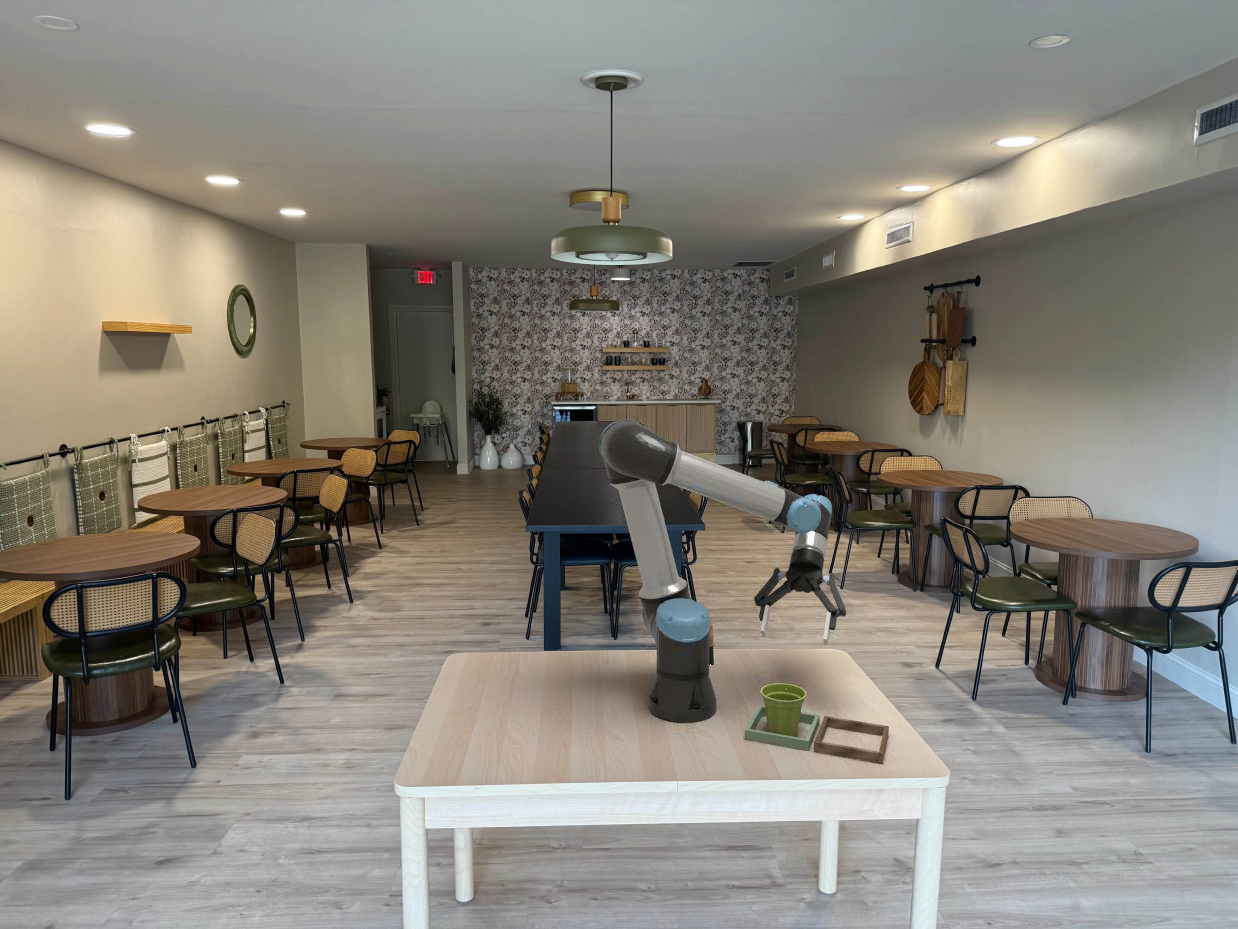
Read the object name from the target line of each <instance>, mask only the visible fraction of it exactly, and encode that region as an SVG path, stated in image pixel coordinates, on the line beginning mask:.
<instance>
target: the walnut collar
mask: <svg viewBox="0 0 1238 929" xmlns="http://www.w3.org/2000/svg"><path fill="white" fill-rule="evenodd" d="M819 726H820V727H818V728H819V729H818V730H817V732H816V736H815V738H814V740H813V741H814V742H813V752H814V753H820V754H822V755H823V754H824V755H829V754H830V756H835V757H840V758H846V757H848V758H847V759H851V758H853V760H857V759H860V760H859V761H862V760H864V762H868V761H869V763H875V764H879V765H883V764H884V759H885V753H886V750H887V744H888V739H889V732H890V730H889V728H890V727H889V725H883V724H878V723H877V724H876V723H872V722H865V721H860V720H859V721H858V720H853V719H848V718H847V719H846V718H841V717H834V716H829V715H824V716H823V718H822V720H821V723H820V725H819ZM828 728H830V729H831V728H833V729H837V730H838V729H839V730H844V731H850V732H856V733H863V734H868V735H874V736H880V737H881V741H880V746H879V750H878V751H877V750H872V749H866V748H860V747H854V746H848V745H843V744H837V743H832V742H826V741H823V740H824V737H825V735H826V732H827V729H828Z"/></svg>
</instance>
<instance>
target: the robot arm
mask: <svg viewBox="0 0 1238 929" xmlns="http://www.w3.org/2000/svg"><path fill="white" fill-rule="evenodd" d="M598 452H599V454H600V457H601V459H602V460H603V462H604V466H605V469H606V473H607V477H608V481H609V485H610V486H612V487H614V488H615V489H617V490H618V493H619V498H620V501H621V505H622V508H623V513H624V515H625V519H626V520H625V521H626V524H627V528H628V532H629V536H630V539H631V540H630V541H631V543H632V547H633V550H634V551H633V552H634V555H635V558H636V561H637V568H638V571H639V574H640V577H641V581H642V582H641V583H642V587H641V588H640V590H639V592H638V596H639V599H640V603H641V608H642V609H641V611H642V620H643V623H644V625H645V627H646V628H647V630H648V631H649V632H650V635H651V636H652V638H653V640H654V642H655V645H656V675H655V678H654V680H653V684H652V687H651V690H650V693H649V695H648V696H649V697H648V710H649V709H650V710H649V712H652V713H651V714H652V715H654V716H655V715H656V718H659V717H660V719H662V718H663V719H662V720H665V719H666V720H665V721H669V720H670V721H669V722H677V723H695V722H699V721H704V720H706V719H709V718H711V717H712V716H714V715H715V714H716V712H717V711H718V710H717V707H718V706H717V704H718V703H717V701H718V700H717V696H716V692H715V689H714V686H713V683H712V680H711V678H710V666H709V631H710V619H711V618H710V613H709V612H710V611H709V610H708V608H707V607H706V606H705V605H704V604H703V603H702V602H699V601H695V600H694V599H692V598H691V593H690V589H689V586H688V583H687V581H686V580H685V579H683V578H682V577H680V576H679V573H678V569H677V565H676V562H675V557H674V554H673V548H672V544H671V542H670V539H669V538H670V537H669V534H668V530H667V527H666V523H665V522H666V521H665V517H664V514H663V511H662V506H661V502H660V497H659V494H658V490H657V486H656V485H659V486H665V485H666V484H670V485H673V486H675V487H678V488H680V489H684V490H686V491H690V492H692V493H695V494H697V495H700V496H701V497H702V496H703V497H705V498H707V499H708V498H709V499H711V500H713V501H716V502H720V503H722V504H725V505H727V506H730V507H733V508H736V509H739V510H740V511H743V512H746V513H749V514H751V515H753V516H757V517H759V518H763V519H764V520H765V519H766V520H768V521H771V522H773V523H776V524H778V525H780V526H783V527H786V528H788V529H791V531H793V532H794V533H795V534H794V539H793V545H792V549H791V555H790V561H789V566H788V569H787V571H786V570H785V571H784V570H780V568H779V567H775V568H774V569H773V573H772V576H771V577H770V578H769V579H768V581H766V583H765V584H764V585H763V586H762V588H761V589H760V590H759V591H758V592H757V594H755V596H754V598H753V600H754V604H755V606H756V607H760V609H759V613H758V618H759V621H760V622H761V627H760V633H761V637H765V638H766V636H767V632H768V626H769V622H770V617H771V608H770V607H773V605H774V604H776V603H778V601H779V600H781V599H783V597H785V596H786V595H788V594H790V593H791V592H793V591H795V592H797V593H801V592H803V593H806V594H810V593H811V592H813V594H814V595H815V596H816V597H817V598H818V599H819V601H820V602H821V604H822V605H823V606H824V608H825V609H826V610H827V612H826V618H825V623H824V624H825V625H824V630H823V638H822V640H823V645H825V646H828V645H829V640H830V635H831V634H830V633H831V631H835V630H836V626H837V620H838V618H839V617H846V615H847V610H846V607H845V603H844V601H843V599H842V596H841V595H840V592H839V590H838V588H837V585H836V577H835V573H829V575H827V574H826V575H824V574H823V570H824V564H825V557H826V551H827V545H828V538H829V531H830V527H831V526H830V525H831V522H832V513H833V505H832V503H831V501H830V499H828V497H825V495H824V496H823V495H821V494H820V495H818V494H815V493H811V494H807V495H805V496H802V495H799V493H796V492H793V491H792V490H789V489H787V488H784V487H783V486H781V485H779V484H777V483H775V482H772V481H770V480H765V481H763V480H760V479H757V478H755V477H752V476H749V475H747V474H743V473H741V472H738V471H736V470H733V469H732V468H731V469H730V468H728V467H726V466H723V465H720V464H718V463H715V462H713V461H710V460H707V459H705V458H702V457H700V456H696V455H694V454H692V453H689V452H686V451H683V450H681V448H680V446H679V444H678V443H676V442H673V441H670V440H669V439H666V438H664V437H662V436H660V435H658V434H657V433H655V432H653V431H652V430H650V429H649V428H648V427H646V426H645V425H642V424H641V423H639V422H638V421H635V420H631V419H623V420H622V419H621V420H617V421H613V422H612V423H610V424H608V425H607V426H606V427H605V429H604V430H603V431H602V433H601V435H600V436H599V442H598ZM784 578H785V579H786V580H785V581H784V582H783V584H781V585H780V586H779V587H778V588H776V586H777V585H778V584H779V582H781V581H782V580H783V579H784ZM823 582H825V584H826V585H827V586H828V587H829V588H830V592H831V594H832V598H833V599H834V601H835V603H836V604H835V605H836V607H835V606H834V604H833V603H832V602H831V600H830V599H829V597H828V596H827V595H826V593H825V592H824V590H823V589H822V588H821V586H820V585H822V583H823ZM775 588H776V589H775ZM774 589H775V590H774Z"/></svg>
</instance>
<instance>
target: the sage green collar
mask: <svg viewBox="0 0 1238 929" xmlns="http://www.w3.org/2000/svg"><path fill="white" fill-rule="evenodd" d="M820 716H821V715H820V714H817V713H811V712H803V711H801V715H800V721H799V723H801V724H808V725H810V728H809V729H808V732H807V735H806V737H805V738H804V737H803V738H802V737H797V736H787V735H781V734H775V733H770V732H769V731H762V730H757V729H756V727H757V726H758V723H759V722H760V721H761V719H762V717H766V709H765V705H758V707H757V708H756V710H755V712H754V713H753V715H752V717H751V718H750V720H749V722H748V724H747V726H746V727H745V729H744V735H743V737H744V740H746V741H747V740H748V741H753V742H758V743H763V744H767V745H768V744H769V745H774V746H781V747H785V748H790V749H791V748H792V749H796V750H802V751H810V749H811V746H812V744H813V741H814V740H815V737H816V736H815V735H817V732H818V730H819V729H818V728H819V726H820V724H821V723H820V719H821V718H820ZM766 718H767V717H766Z"/></svg>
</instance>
